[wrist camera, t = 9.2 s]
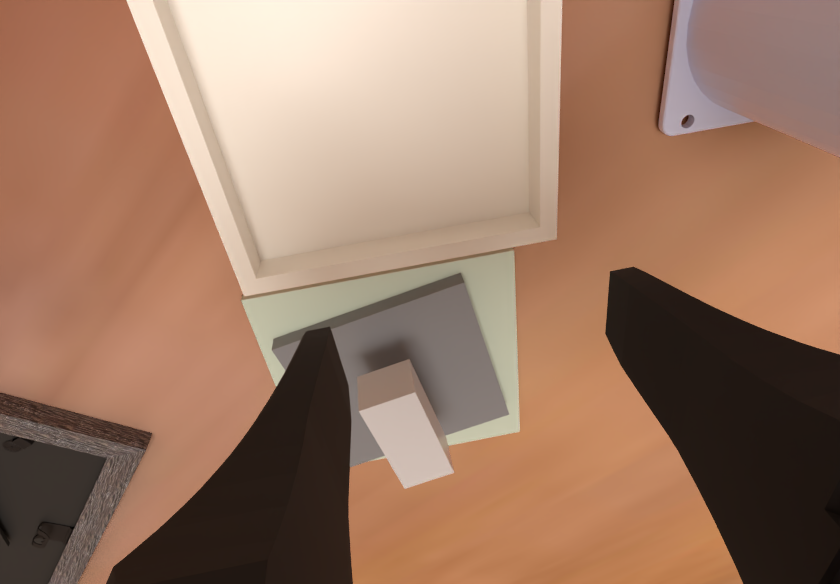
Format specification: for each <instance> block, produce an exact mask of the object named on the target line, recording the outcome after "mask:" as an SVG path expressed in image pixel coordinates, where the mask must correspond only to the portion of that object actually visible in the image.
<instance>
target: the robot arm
mask: <svg viewBox="0 0 840 584" xmlns="http://www.w3.org/2000/svg"><path fill="white" fill-rule="evenodd" d="M687 115H689V118H688V121H687V122H686V123H685V124H683V125H681V122H682V119H683V118H684V117H685V116H687ZM754 121H755V122H758V123H760V124H762V125H765V126H767V127H770V128H772V129H774V130H777V131H779V132H781V133H784V134H786V135H788V136H791V137H793V138H795V139H798V140H800V141H802V142H805V143H807V144H809V145H812V146H814V147H816V148H819V149H821V150H823V151H826V152H828V153H830V154H833V155H835V156H837V157H840V0H675V1H674V9H673V17H672V24H671V32H670V40H669V47H668V55H667V62H666V70H665V78H664V85H663V93H662V101H661V108H660V116H659V129H660V131H661V132H663V133H664V134H666V135H668V136H675V135H681V134H687V133H692V132H698V131H704V130H709V129H715V128H721V127H726V126H732V125H737V124H743V123H749V122H754ZM605 334H606V336H607V338H608V340H609V342H610V344H611V346H612V348H613V351H614V353H615V355H616V357H617V358H618V360H619V362H620V364H621V366H622V368H623V369H624V371H625V372H626V374H627V375H628V377H629V378H630V380H631V381H632V383H633V384H634V386H635V387H636V389H637V390H638V392H639V393H640V395H641V396H642V398H643V399H644V400H645V402H646V403H647V405H648V406H649V408H650V409H651V411H652V412H653V414H654V415H655V416H656V418H657V419H658V421H659V422H660V424H661V425H662V427H663V428H664V430H665V431H666V433H667V434H668V435H669V437H670V439H671V440H672V442H673V444H674V445H675V447H676V448H677V450H678V452H679V454H680V455H681V457H682V459H683V461H684V463H685V465H686V467H687V468H688V470H689V472H690V474H691V476H692V478H693V480H694V481H695V483H696V485H697V487H698V489H699V491H700V493H701V495H702V497H703V499H704V501H705V503H706V505H707V507H708V509H709V511H710V513H711V515H712V517H713V519H714V521H715V523H716V525H717V527H718V529H719V531H720V534H721V536H722V538H723V540H724V542H725V544H726V546H727V548H728V551H729V553H730V555H731V557H732V559H733V561H734V563H735V566H736V568H737V570H738V572H739V575H740V577H741V579H742V582H743V584H840V355H839V354H836V353H832V352H829V351H825V350H822V349H819V348H815V347H812V346H809V345H806V344H803V343H800V342H797V341H794V340H792V339H789V338H786V337H783V336H781V335H778V334H775V333H772V332H770V331H767V330H765V329H762V328H760V327H757V326H755V325H752V324H750V323H748V322H745V321H743V320H741V319H738V318H736V317H734V316H732V315H729V314H727V313H725V312H723V311H721V310H719V309H716V308H714V307H712V306H710V305H708V304H706V303H704V302H702V301H700V300H698V299H696V298H694V297H692V296H690V295H688V294H686V293H684V292H682V291H680V290H679V289H677V288H675V287H673V286H671V285H669V284H667V283H665V282H663V281H661V280H659V279H657V278H656V277H654V276H652V275H650V274H648V273H646V272H644V271H642V270H639V269H637V268H635V267H630V268H625V269H620V270H615V271H610V280H609V293H608V307H607V320H606V333H605ZM350 448H351V407H350V396H349V385H348V382H347V378H346V375H345V372H344V369H343V366H342V363H341V359H340V356H339V353H338V350H337V347H336V344H335V340H334V337H333V334H332V331H331V328H330V327H325V328H320V329H315V330H310V331H306V332H305V334H304V335H303V337H302V339H301V341H300V343H299V345H298V347H297V349H296V351H295V353H294V355H293V357H292V359H291V361H290V363H289V365H288V367H287V369H286V371H285V373H284V374H283V376H282V378H281V380H280V381H279V383H278V385H277V387H276V389H275V390H274V392H273V394H272V395H271V397H270V399H269V400H268V402H267V403H266V405H265V407H264V408H263V410H262V411H261V413H260V414H259V416H258V418H257V419H256V421H255V422H254V424H253V425H252V426H251V428H250V429H249V431H248V432H247V434H246V435H245V436H244V438H243V439H242V440H241V442H240V443H239V444H238V446H237V447H236V448H235V449H234V451H233V452H232V453H231V455H230V456H229V457H228V458H227V459H226V461H225V462H224V463H223V464H222V465H221V466H220V467H219V469H218V470H217V471H216V472H215V473H214V474H213V475H212V476H211V478H210V479H209V480H208V481H207V482H206V483H205V484H204V485H203V487H202V488H201V489H200V490H199V491H198V492H197V493H196V494H195V495H194V496H193V497H192V498H191V499H190V500H189V501H188V502H187V503H186V504H185V505H184V506H183V507H182V508H181V509H180V510H179V511H177V512H176V513H175V514H174V515H173V516H172V517H171V518H170V519H169V520H168V521H167V522H166V523H165V524H164V525H162V526H161V527H160V528H159V529H158V530H157V531H156V532H155V533H153V534H152V535H151V536H150V537H149V538H148V539H146V540H145V541H144V542H143V543H142V544H140V545H139V546H138V547H137V548H136V549H135V550H133V551H132V552H131V553H130V554H129V555H127V556H126V557H125V558H124V559H123V560H121V561H120V562H119V563H118V564H116V565H115V566H114V567H113V569H112V571H111V574H110V576H109V578H108V580H107V583H106V584H353V582H352V568H351V553H350V537H349V520H348V496H349V472H350Z"/></svg>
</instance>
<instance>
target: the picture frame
mask: <svg viewBox="0 0 840 584" xmlns="http://www.w3.org/2000/svg"><path fill="white" fill-rule="evenodd" d="M151 435H152V433H149V432H146V431H142V430H138V429H134V428H131V427H127V426H123V425H119V424H116V423H112V422H108V421H104V420H101V419H97V418H93V417H89V416H86V415H82V414H78V413H74V412H71V411H67V410H63V409H59V408H56V407H52V406H48V405H44V404H41V403H37V402H33V401H29V400H26V399H22V398H18V397H14V396H11V395H7V394H3V393H0V584H77V583H78V581H79V579H80V577H81V575H82V573H83V571H84V569H85V567H86V565H87V563H88V562H89V560H90V558H91V556H92V554H93V552H94V550H95V548H96V546H97V544H98V542H99V540H100V538H101V536H102V534H103V532H104V530H105V529H106V527H107V525H108V523H109V521H110V519H111V517H112V515H113V513H114V511H115V509H116V507H117V505H118V503H119V501H120V499H121V497H122V496H123V494H124V492H125V490H126V488H127V486H128V484H129V482H130V480H131V478H132V476H133V474H134V472H135V470H136V468H137V466H138V464H139V462H140V461H141V459H142V457H143V455H144V453H145V451H146V448H147V446H148V443H149V440H150V438H151Z"/></svg>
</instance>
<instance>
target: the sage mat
mask: <svg viewBox="0 0 840 584" xmlns="http://www.w3.org/2000/svg"><path fill="white" fill-rule="evenodd" d="M458 273H461V275H462V278H463V280H464V283H465V286H466V289H467V292H468V295H469V298H470V300H471V303H472V306H473V309H474V312H475V315H476V318H477V321H478V324H479V327H480V330H481V333H482V336H483V339H484V341H485V344H486V347H487V350H488V353H489V356H490V359H491V362H492V365H493V368H494V371H495V374H496V377H497V380H498V383H499V385H500V388H501V391H502V394H503V397H504V400H505V403H506V406H507V409H508V412H509V415H506V416H503V417H500V418H497V419H494V420H491V421H488V422H485V423H482V424H479V425H476V426H473V427H470V428H467V429H464V430H461V431H458V432H455V433H452V434H449V435H446V438H447V443H448V446H449V445H454V444H459V443H465V442H470V441H475V440H480V439H485V438H490V437H495V436H500V435H505V434H510V433H515V432H520V421H519V388H518V356H517V324H516V292H515V260H514V249H513V247H512V248H506V249H501V250H495V251H490V252H485V253H479V254H474V255H468V256H463V257H457V258H452V259H446V260H441V261H435V262H430V263H424V264H419V265H414V266H408V267H403V268H397V269H392V270H386V271H381V272H375V273H370V274H364V275H359V276H353V277H348V278H343V279H337V280H332V281H326V282H321V283H315V284H310V285H304V286H299V287H293V288H288V289H282V290H277V291H271V292H266V293H261V294H255V295H250V296H244V295H242V299H241V301H242V304H243V306H244V309H245V311H246V314H247V316H248V319H249V321H250V324H251V326H252V329H253V331H254V334H255V336H256V339H257V341H258V344H259V346H260V348H261V351H262V353H263V356H264V358H265V361H266V363H267V366H268V368H269V371H270V373H271V376H272V378H273V381H274V383H275V386H276V387H277V385H278V383H279V381H280V380H281V378H282V376H283V374H284V373H285V369H284V368H283V366H282V365H281V363H280V362H279V360H278V359H277V357H276V356H275V354H274V353H273V351H272V345H273V339H274V338H277V337H280V336H283V335H286V334H288V333H291V332H294V331H297V330H300V329H303V328H305V327H308V326H311V325H314V324H317V323H320V322H322V321H325V320H328V319H331V318H334V317H337V316H339V315H342V314H345V313H348V312H351V311H354V310H356V309H359V308H362V307H365V306H368V305H371V304H373V303H376V302H379V301H382V300H385V299H387V298H390V297H393V296H396V295H399V294H402V293H404V292H407V291H410V290H413V289H416V288H419V287H421V286H424V285H427V284H430V283H433V282H436V281H438V280H441V279H444V278H447V277H450V276H453V275H455V274H458ZM383 458H386V456H382V457H379V458H376V459H373V460H378V459H383ZM373 460H370V461H373ZM367 462H368V461H367Z"/></svg>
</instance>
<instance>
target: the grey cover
mask: <svg viewBox="0 0 840 584" xmlns="http://www.w3.org/2000/svg"><path fill="white" fill-rule="evenodd" d="M325 327H330V328H331V331H332V334H333V337H334V340H335V344H336V347H337V350H338V353H339V356H340V359H341V363H342V366H343V369H344V372H345V375H346V378H347V382H348V385H349V396H350V407H351V448H350V467H352V466H355V465H358V464H361V463H364V462H367V461H370V460H373V459H376V458H379V457H382V456H386V458H387V460H388V461H389V463H390V465H391V466H392V468H393V470H394V471H395V473H396V475H397V476H398V478H399V480H400V481H401V483H402V485H403V486H404V488H409V487H412V486H415V485H418V484H421V483H424V482H427V481H430V480H433V479H436V478H439V477H442V476H445V475H449V474H452V473H454V470H453V465H452V461H451V456H450V452H449V447H448V443H447V438H446V435H449V434H452V433H455V432H458V431H461V430H464V429H467V428H470V427H473V426H476V425H479V424H482V423H485V422H488V421H491V420H494V419H497V418H500V417H503V416H506V415H509V412H508V409H507V406H506V403H505V400H504V397H503V394H502V391H501V388H500V385H499V383H498V380H497V377H496V374H495V371H494V368H493V365H492V362H491V359H490V356H489V353H488V350H487V347H486V344H485V341H484V339H483V336H482V333H481V330H480V327H479V324H478V321H477V318H476V315H475V312H474V309H473V306H472V303H471V300H470V298H469V295H468V292H467V289H466V286H465V283H464V280H463V278H462V275H461V273H458V274H455V275H453V276H450V277H447V278H444V279H441V280H438V281H436V282H433V283H430V284H427V285H424V286H421V287H419V288H416V289H413V290H410V291H407V292H404V293H402V294H399V295H396V296H393V297H390V298H387V299H385V300H382V301H379V302H376V303H373V304H371V305H368V306H365V307H362V308H359V309H356V310H354V311H351V312H348V313H345V314H342V315H339V316H337V317H334V318H331V319H328V320H325V321H322V322H320V323H317V324H314V325H311V326H308V327H305V328H303V329H300V330H297V331H294V332H291V333H288V334H286V335H283V336H280V337H277V338H274V339H273V345H272V351H273V353H274V354H275V356H276V357H277V359H278V360H279V362H280V363H281V365H282V366H283V368H284V369H285V371H286V369H287V367H288V365H289V363H290V361H291V359H292V357H293V355H294V353H295V351H296V349H297V347H298V345H299V343H300V341H301V339H302V337H303V335H304V334H305V332H306V331H310V330H315V329H320V328H325Z"/></svg>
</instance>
